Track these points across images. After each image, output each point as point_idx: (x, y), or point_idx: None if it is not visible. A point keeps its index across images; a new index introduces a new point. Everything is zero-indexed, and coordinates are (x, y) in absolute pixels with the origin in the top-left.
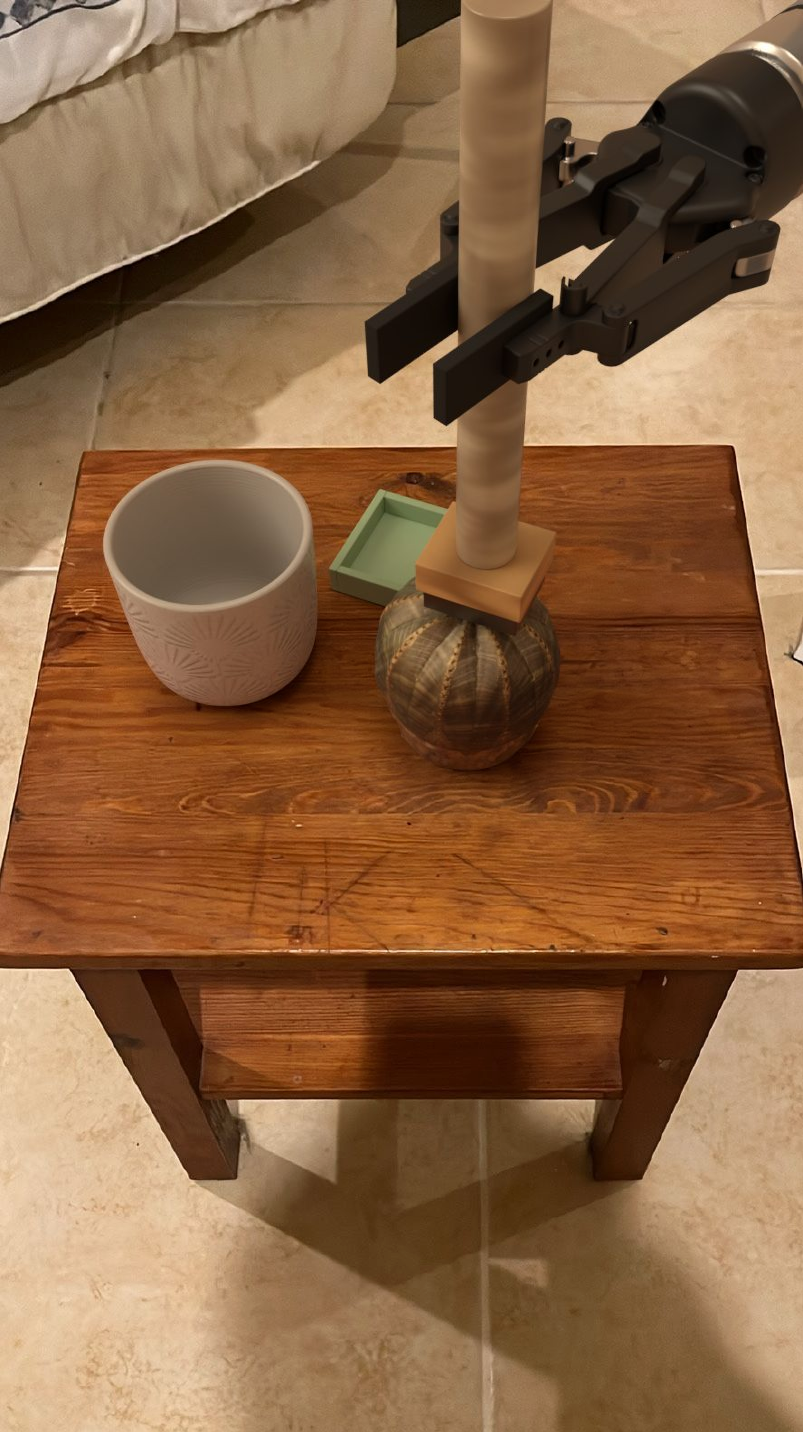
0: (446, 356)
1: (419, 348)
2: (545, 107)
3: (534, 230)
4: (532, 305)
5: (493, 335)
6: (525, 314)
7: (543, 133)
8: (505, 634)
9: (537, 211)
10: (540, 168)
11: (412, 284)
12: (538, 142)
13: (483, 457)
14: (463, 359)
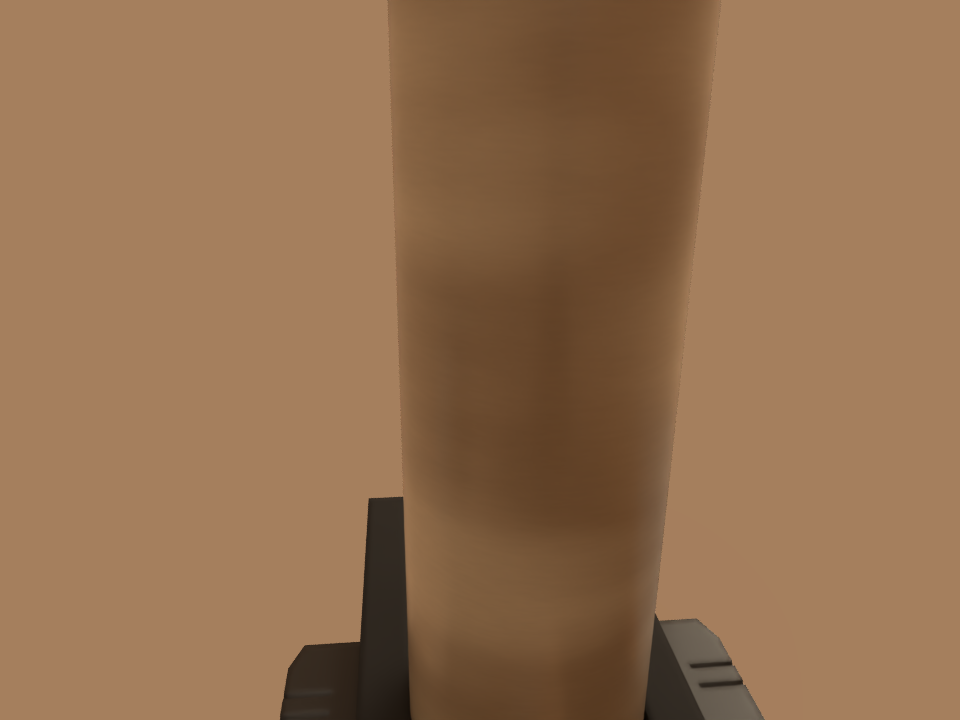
0: (401, 515)
1: None
2: (412, 147)
3: (409, 547)
4: (374, 707)
5: (372, 591)
6: (362, 673)
7: (414, 247)
8: None
9: (413, 505)
10: (409, 361)
11: (698, 631)
12: (400, 248)
13: None
14: (369, 527)
